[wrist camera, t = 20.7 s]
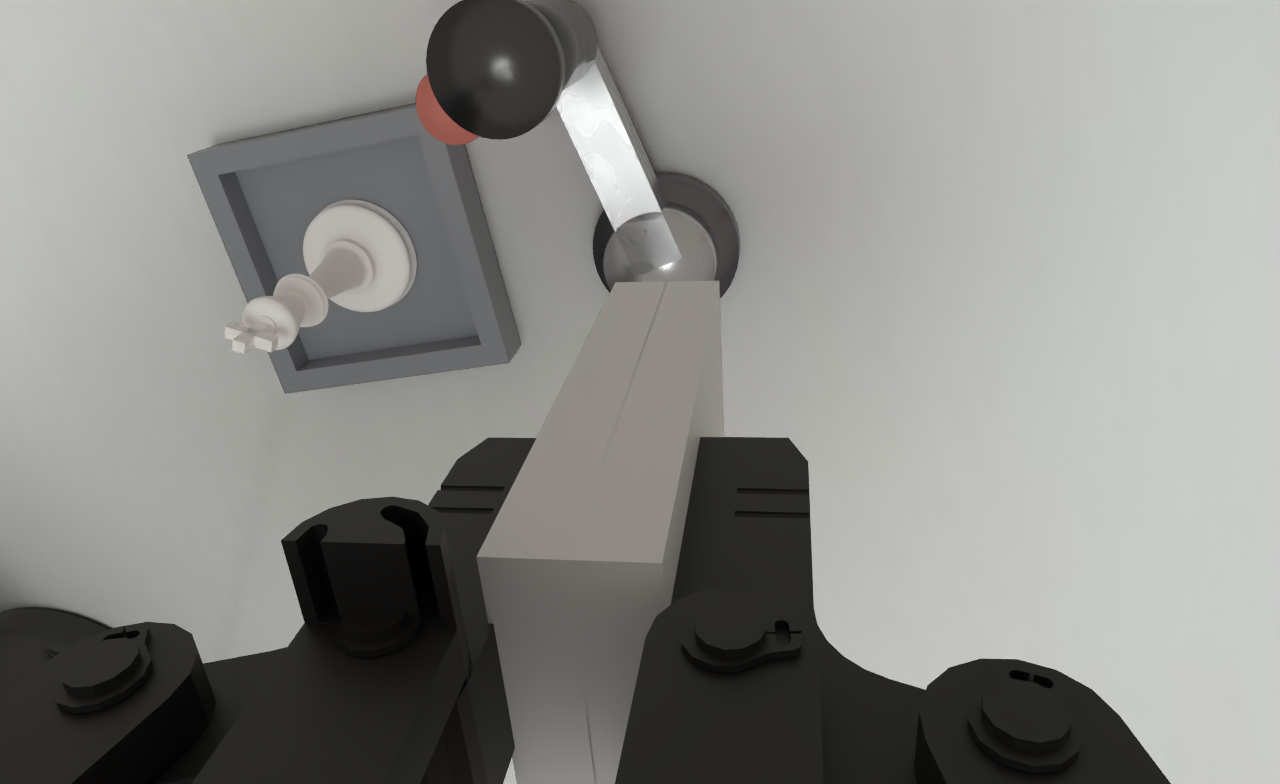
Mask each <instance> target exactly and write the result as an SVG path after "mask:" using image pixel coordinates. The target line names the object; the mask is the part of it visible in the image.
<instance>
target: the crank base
mask: <svg viewBox="0 0 1280 784" xmlns="http://www.w3.org/2000/svg"><path fill="white" fill-rule="evenodd" d="M655 176H656V178H657V180H658V182H659V185H660V187H661V189H662V191H663V194H664V196H665V198H666V201H667V202H674V203H678V204H681V205H684V206H686V207H688V208H690V209H692V210H693V211H695V212H696V213H698V214H699V215H700V216H701V217H702V218H703V219H704V220H705V221H706V222H707V224H708V225H709V227H710V228H711V230H712V232H713V234H714V236H715V239H716V242H717V247H718V264H717V269H716V273H715V278H714V281H719V287H720V298H721V297H722V296H723V295H724V293H725V292H726V291H727V289H728V288H729V286H730V284H731V282H732V280H733V278H734V275H735V272H736V269H737V264H738V259H739V252H740V238H739V231H738V227H737V223H736V220H735V218H734V215H733V213H732V212H731V210H730V208H729V206H728V205H727V204H726V202H725V201H724V199H723V198H722V197H721V196H720V195H719V194H718V193H717V192H716V191H714V190H713V189H712V188H711V187H709V186H708V185H706V184H705V183H703V182H701V181H699V180H697V179H695V178H692V177H689V176H686V175H682V174H676V173H657V174H655ZM613 233H614V229H613V227H612V225H611V223H610V220H609V218H608V216H607V214H606V212H605V210H604V211H603V213H602V214H601V216H600V218H599V220H598V223H597V226H596V229H595V233H594V240H593V255H594V261H595V265H596V269H597V272H598V274H599V276H600V278H601V281H602V282H603V284H604V285H605V287H606V289H607V290H608V291H609V292H611V291H610V289H609V287H608V284H607V282H606V279H605V275H604V268H603V260H604V253H605V249H606V246H607V244H608V242H609V240H610V238H611V236H612V234H613Z"/></svg>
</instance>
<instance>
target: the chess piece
mask: <svg viewBox="0 0 1280 784" xmlns="http://www.w3.org/2000/svg"><path fill="white" fill-rule="evenodd" d="M303 256H304V261H305V265H306V268H307V271H308V273H309V275H310V276H309V277H308V276H306V275H302V274H289V275H286V276H284V277H283V278H281V279H280V280H279V282H278V283H277V285H276V287H275V289H274V293H273V296H263V297H258V298H255V299H253V300H251V301H250V302H249V303H248V304H247V305H246V306H245V308H244V311H243V315H242V322H243V325H240V324H237V323H234V322H231V323H230V324H228V325H227V326H225V336H224V338H227V339H230V340H232V351H235V352H238V353H241V354H245V353H247V352H248V351H249V350H251V349H252V348H253V347H255V348H258V349H261V350H264V351H267V352H273V351H274V350H281V349H284V348H287V347H288V346H290V345H291V344H292V343H293V342H294V340H295V338H296V337H297V334H298V332H299V328H300V327H312V326H315V325H318V324H319V323H321V322H322V321H323V320H324V319H325V317H326V315H327V313H328V307H329V306H328V299H330V300H331V301H333V302H334V303H336V304H338V305H340V306H342V307H344V308H347V309H349V310H353V311H358V312H375V311H380V310H383V309H385V308H388V307H389V306H391V305H394V304H395V303H397V302H399V301H400V300H401V299H402V298H403V297H404V296H405V295H406V294H407V293H408V292H409V290H410V289H411V287H412V285H413V282H414V280H415V276H416V270H417V259H416V253H415V249H414V246H413V243H412V241H411V239H410V236H409V235H408V233H407V231H406V230H405V228H404V227H403V226H402V224H401V223H400V222H399V221H398V220H397V219H396V218H395V217H394V216H393V215H392V214H390V213H389V212H388V211H386V210H385V209H383V208H381V207H379V206H377V205H375V204H373V203H370V202H367V201H362V200H342V201H338V202H335V203H332V204H331V205H329V206H327V207H325V208H324V209H323V210H322V211H321V212H320V213H319V214H318V215H317V216H316V217H315V218H314V219H313V220H312V222H311V223H310V225H309V226H308V228H307V230H306V233H305V236H304V241H303Z"/></svg>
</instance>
